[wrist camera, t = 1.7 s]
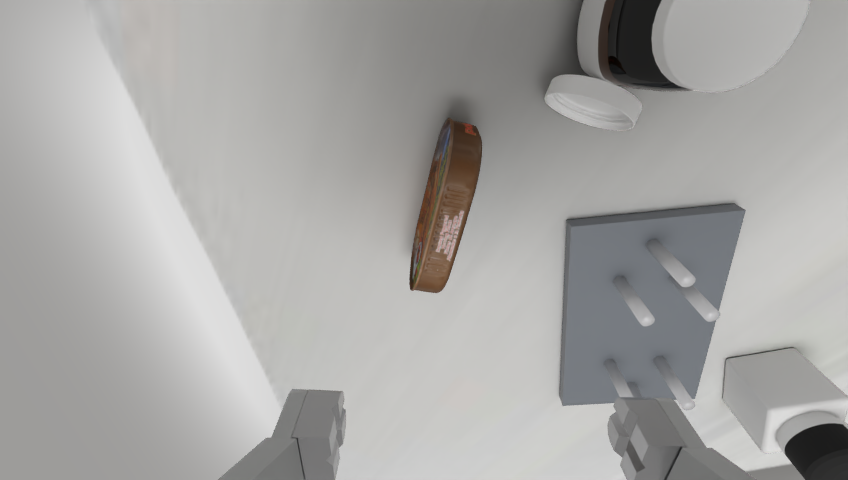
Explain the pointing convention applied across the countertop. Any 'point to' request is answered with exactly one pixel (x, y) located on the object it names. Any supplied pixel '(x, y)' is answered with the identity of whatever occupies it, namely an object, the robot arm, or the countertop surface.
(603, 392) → the pin tray
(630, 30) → the spread jar
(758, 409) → the medicine bottle
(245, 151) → the countertop surface
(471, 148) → the tin
